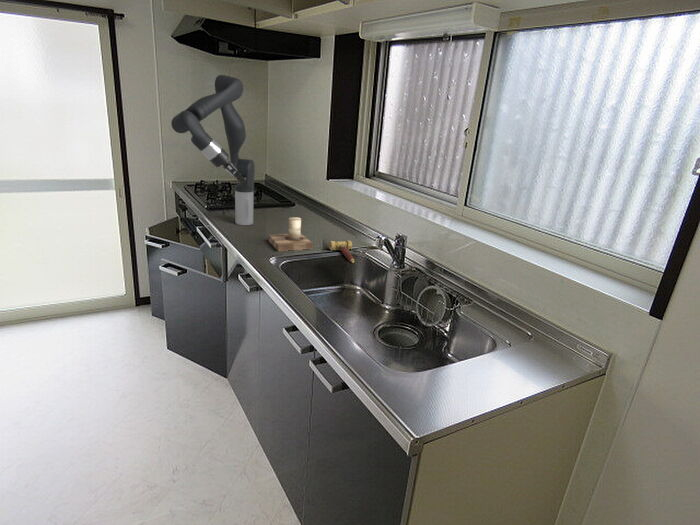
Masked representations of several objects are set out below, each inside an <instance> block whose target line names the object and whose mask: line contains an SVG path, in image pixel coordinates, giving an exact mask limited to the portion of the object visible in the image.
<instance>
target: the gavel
mask: <svg viewBox="0 0 700 525" xmlns="http://www.w3.org/2000/svg"><path fill="white" fill-rule="evenodd" d="M352 248H353V242H352V241H351V240H345V241H343V240H341V241H334V240H330V241H329V242H328V250H329V249H330V250H335V251H341V253H342V255H344V257H345V258H346V259H347V261H348V262H349V263H352V264H354V263H355V257H354V256H353V255H352V253H351V252H350V250H349V249H351V250H353V249H352ZM347 249H348V250H347Z"/></svg>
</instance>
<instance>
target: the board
mask: <svg viewBox="0 0 700 525" xmlns="http://www.w3.org/2000/svg"><path fill="white" fill-rule="evenodd" d="M267 237H268V240H267V241H268V242H269V243H270V244H271V245H272V247H273V248H274V249H275V250H276V251H277V252H289V251H288V250H294V251H304V250H303V249H309V250H313V242H312V241H311V240H309V239H308V238H307V237H306V236H305V235H304V234H302V233H301V235H300V240H289V239H288V233H278V234H277V233H275V234H274V233H273V234H268V236H267Z"/></svg>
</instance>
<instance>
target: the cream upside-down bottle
mask: <svg viewBox="0 0 700 525" xmlns="http://www.w3.org/2000/svg"><path fill="white" fill-rule="evenodd" d="M301 230H302V218H301V217H297V216H296V217H295V216H292V217H289V218H288V230H287V232H288V233H287V234H288V239H289V240H300V235H301V234H302V232H301Z"/></svg>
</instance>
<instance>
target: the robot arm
mask: <svg viewBox="0 0 700 525" xmlns="http://www.w3.org/2000/svg"><path fill="white" fill-rule="evenodd" d="M214 91H215V93H213V94H208V95H205V96H202V97H200V98H198V99H196V101H194V102H193V103H191V104H190V105H189V106H188V107H187V108H186V109H184V110H182V111H181V112H179V113H177V114H176V115H175V116H173V117H172V119H171V121H170V122H171V128H172V130H173V131H174V132H176V133H177V134H185V133H186V134H187V132H189V133H190V134H191V138H190V141H191V143H192V144H193V145H194V146H195V147H196V148H197V149H198V150H199V152H201V153H202V155H204V157H205V158H206V159H207V161H209V162H211V164H212V165H213V166H214V167H215V168H219V167H221V166H222V169H223V170H225V172H227V173H228V174H229V175H231V176H233V177H234V178H235V179H236V180H237V181H239V182H240V183H237V184H235V186H234V202H235V203H234V212H235V213H234V217H235V218H234V220H235V221H234V222H235V224H236V225H240V226H249V225H253V224H254V187H255V172H256V171H255V170H256V169H255V168H256V164H255V162H254V160H252V159H247V158H240V154H239V152H240V149H241V148H242V147H243V145H244V143H245V141H246V139H247V132H246V126H245V122H244V120H243V119H242V117H241V115H240V113H239V111H237V109H236V107H235V106H234V104H233V102H235V101H237V100H239V99H240V98H241V97H242V95H243V93H244V84H243V82H242V80H241V79H239V78H237V77H235V76H230V75H225V74H219V75H217V76H216V77H215V80H214ZM218 109H220V111H221V115H222V120H223V126H224V132H225V136H226V140H227V145H228V150H229V153H228V152H227V150H225V149H224V148H223V147H222V146H221V145H220V144H219V143H218V142H217V141H216V140H214V138H212V136H210V135H209V133H208V132H206V130H205V128H204V127H203V125H202V124H201V122H202V121H203V120H204V119H206V118H207V117H209V116H210V115H212V113H213V112H216V111H217V110H218ZM229 157H230V161H228V159H229Z"/></svg>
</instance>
